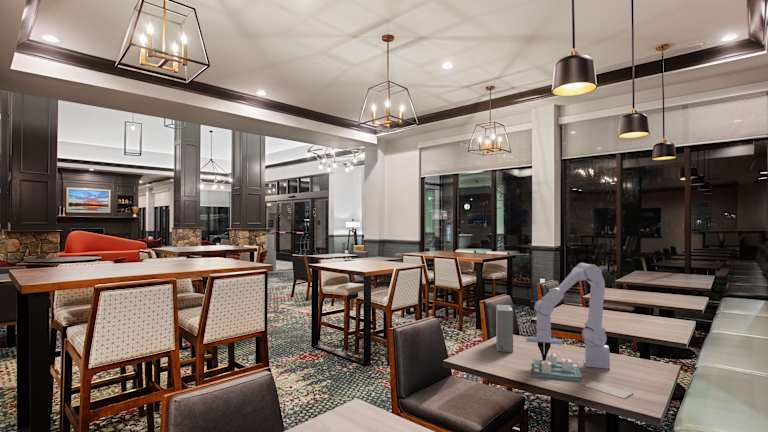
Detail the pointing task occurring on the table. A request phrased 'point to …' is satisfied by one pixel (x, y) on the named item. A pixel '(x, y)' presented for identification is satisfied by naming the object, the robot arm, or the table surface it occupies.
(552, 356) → the tab
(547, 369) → the tab
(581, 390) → the table surface
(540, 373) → the switch board
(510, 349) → the hard drive box
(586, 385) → the smartphone
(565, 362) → the tab
